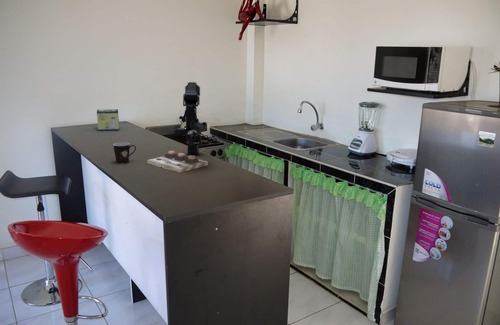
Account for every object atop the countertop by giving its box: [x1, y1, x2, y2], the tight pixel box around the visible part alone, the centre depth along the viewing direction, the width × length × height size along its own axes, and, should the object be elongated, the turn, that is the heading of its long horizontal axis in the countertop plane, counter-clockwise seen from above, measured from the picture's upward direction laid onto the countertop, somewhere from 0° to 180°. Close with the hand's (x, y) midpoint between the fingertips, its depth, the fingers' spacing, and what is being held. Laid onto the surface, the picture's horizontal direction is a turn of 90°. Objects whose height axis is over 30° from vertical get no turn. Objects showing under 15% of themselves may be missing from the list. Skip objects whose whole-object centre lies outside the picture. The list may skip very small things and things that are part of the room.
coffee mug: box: [112, 142, 137, 164], centre depth 207 cm, size 12×9×10 cm
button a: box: [167, 150, 176, 155], centre depth 213 cm, size 4×4×2 cm
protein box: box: [96, 109, 120, 132], centre depth 297 cm, size 10×16×16 cm
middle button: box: [177, 152, 186, 158], centre depth 208 cm, size 4×4×2 cm
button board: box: [146, 152, 209, 174], centre depth 206 cm, size 20×26×4 cm
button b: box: [187, 155, 196, 161], centre depth 203 cm, size 4×4×2 cm
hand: (191, 145), depth 202 cm, fingers closed
